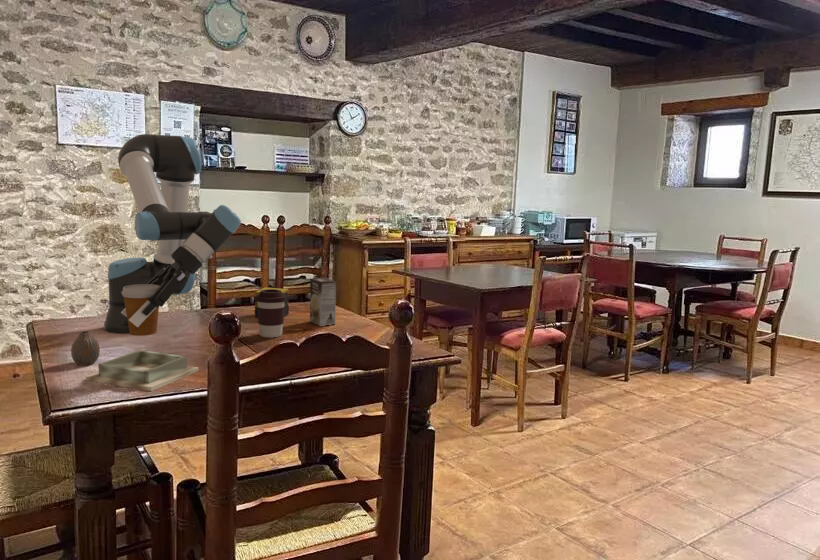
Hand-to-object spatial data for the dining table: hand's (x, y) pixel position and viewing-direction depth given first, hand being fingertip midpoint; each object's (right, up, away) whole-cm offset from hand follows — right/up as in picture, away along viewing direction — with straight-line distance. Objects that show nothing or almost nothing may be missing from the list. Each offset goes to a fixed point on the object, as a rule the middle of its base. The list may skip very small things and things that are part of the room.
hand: (129, 319), depth 160 cm
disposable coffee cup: (+3, -4, +2) cm, 5 cm away
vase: (-17, -13, +13) cm, 25 cm away
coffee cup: (+25, -9, +50) cm, 56 cm away
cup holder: (+2, -15, +4) cm, 15 cm away
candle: (+19, -4, +79) cm, 81 cm away
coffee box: (+39, -6, +70) cm, 81 cm away
